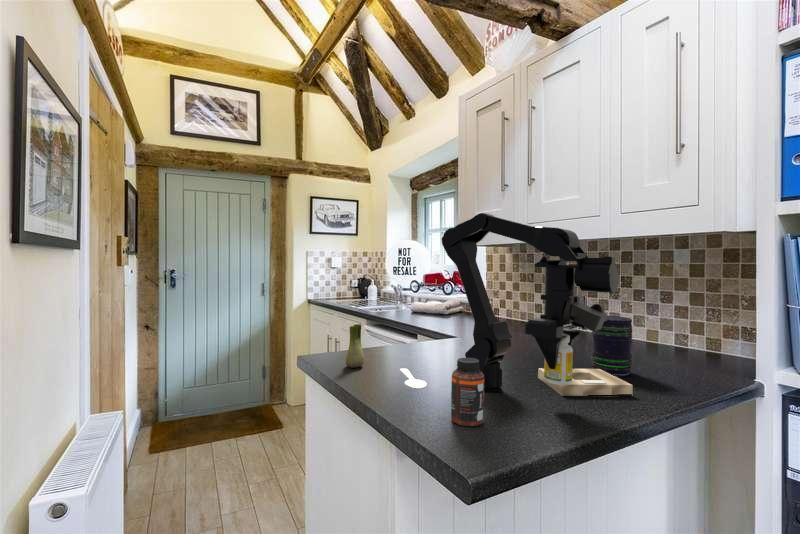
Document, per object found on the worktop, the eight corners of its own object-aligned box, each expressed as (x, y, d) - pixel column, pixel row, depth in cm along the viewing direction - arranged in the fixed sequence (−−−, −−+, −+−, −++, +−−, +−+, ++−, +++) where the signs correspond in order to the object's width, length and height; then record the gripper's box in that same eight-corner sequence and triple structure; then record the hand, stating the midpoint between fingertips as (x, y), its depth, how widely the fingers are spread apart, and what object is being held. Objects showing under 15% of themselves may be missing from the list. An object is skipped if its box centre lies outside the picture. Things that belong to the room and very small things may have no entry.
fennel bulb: (358, 363, 113) (358, 322, 113) (368, 367, 110) (369, 324, 110) (341, 367, 109) (342, 323, 109) (351, 370, 106) (352, 326, 106)
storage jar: (588, 372, 108) (589, 318, 108) (594, 365, 116) (594, 314, 116) (630, 378, 102) (631, 321, 102) (633, 370, 110) (634, 317, 110)
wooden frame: (561, 395, 88) (561, 383, 88) (538, 377, 102) (538, 367, 102) (632, 396, 88) (632, 384, 88) (599, 378, 102) (599, 368, 102)
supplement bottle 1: (490, 426, 70) (491, 362, 70) (459, 429, 68) (460, 364, 68) (474, 414, 76) (475, 355, 76) (445, 416, 74) (446, 356, 74)
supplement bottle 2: (549, 385, 78) (550, 336, 78) (540, 377, 83) (541, 332, 83) (576, 385, 78) (577, 337, 78) (565, 378, 83) (566, 332, 83)
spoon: (412, 369, 109) (412, 367, 109) (431, 389, 92) (431, 386, 92) (393, 370, 108) (393, 368, 108) (408, 390, 90) (408, 388, 90)
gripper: (584, 294, 68) (583, 384, 68) (616, 290, 82) (615, 366, 82) (524, 290, 76) (522, 371, 76) (562, 288, 89) (561, 356, 89)
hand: (558, 366), depth 80 cm, fingers closed on supplement bottle 2, 5 cm apart
